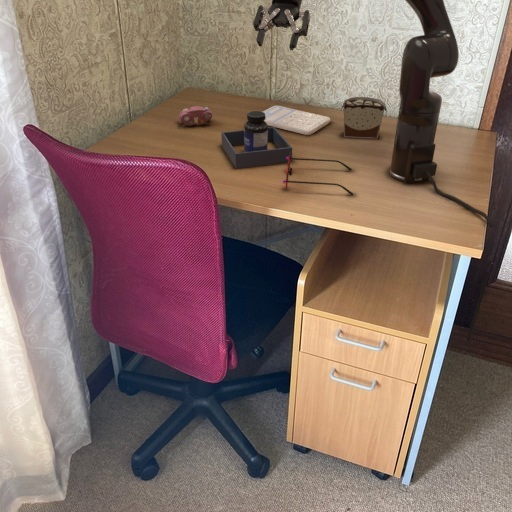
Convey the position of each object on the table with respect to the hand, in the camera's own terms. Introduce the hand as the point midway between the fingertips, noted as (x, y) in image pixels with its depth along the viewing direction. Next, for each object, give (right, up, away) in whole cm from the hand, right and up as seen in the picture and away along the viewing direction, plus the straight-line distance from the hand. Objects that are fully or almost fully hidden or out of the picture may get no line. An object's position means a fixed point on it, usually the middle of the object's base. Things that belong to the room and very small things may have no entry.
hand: (275, 46), depth 147 cm
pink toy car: (-23, -15, +22) cm, 35 cm away
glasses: (+10, -36, -8) cm, 38 cm away
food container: (+25, -19, +17) cm, 36 cm away
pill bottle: (-5, -27, +5) cm, 28 cm away
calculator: (+6, -14, +24) cm, 29 cm away
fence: (-5, -27, +5) cm, 28 cm away
